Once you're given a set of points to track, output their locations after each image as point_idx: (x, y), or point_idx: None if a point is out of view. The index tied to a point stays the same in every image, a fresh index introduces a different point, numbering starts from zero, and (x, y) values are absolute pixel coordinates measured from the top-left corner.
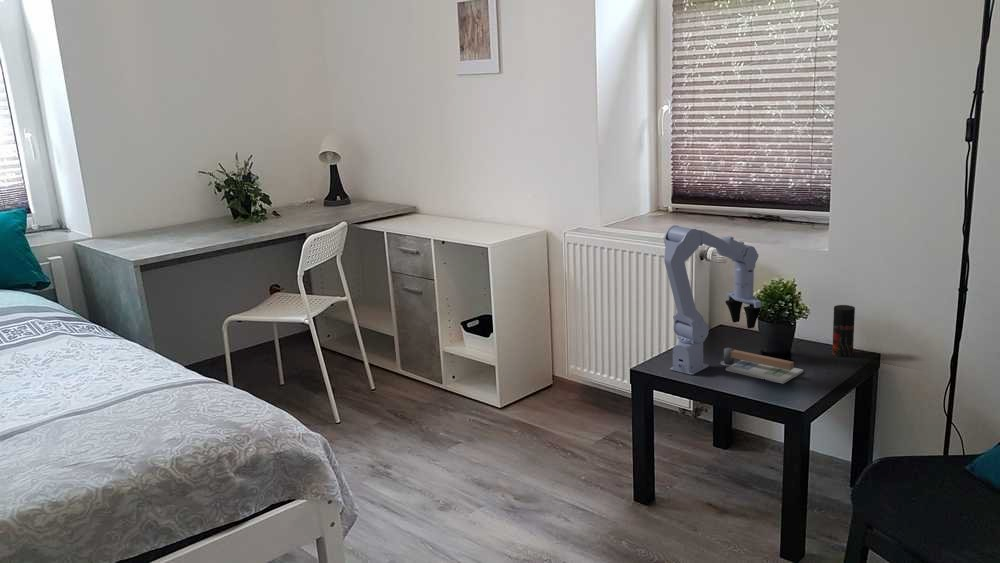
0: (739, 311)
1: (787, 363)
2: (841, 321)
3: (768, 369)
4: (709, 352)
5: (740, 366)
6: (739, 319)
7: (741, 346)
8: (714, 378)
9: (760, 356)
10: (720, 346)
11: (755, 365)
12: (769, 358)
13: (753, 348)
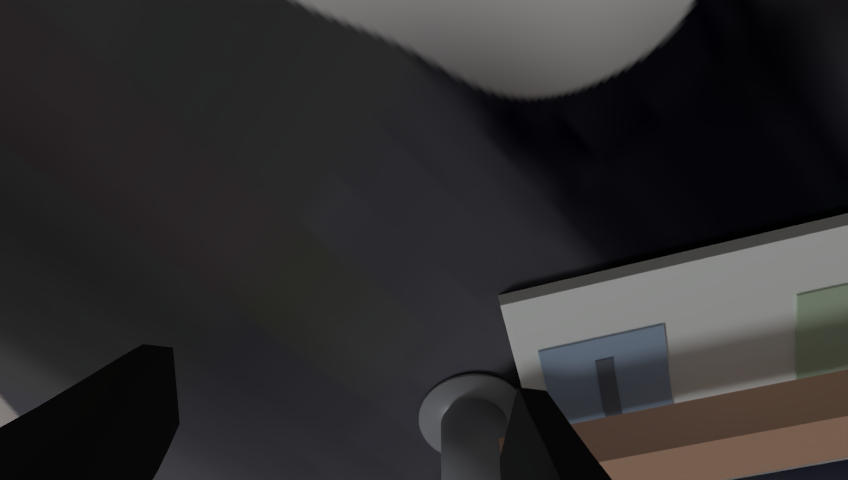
0: (45, 470)
1: None
2: None
3: (784, 363)
4: (212, 366)
5: None
6: (156, 365)
7: (203, 84)
8: None
9: (777, 453)
10: (121, 223)
11: (669, 376)
12: None
13: (309, 37)
